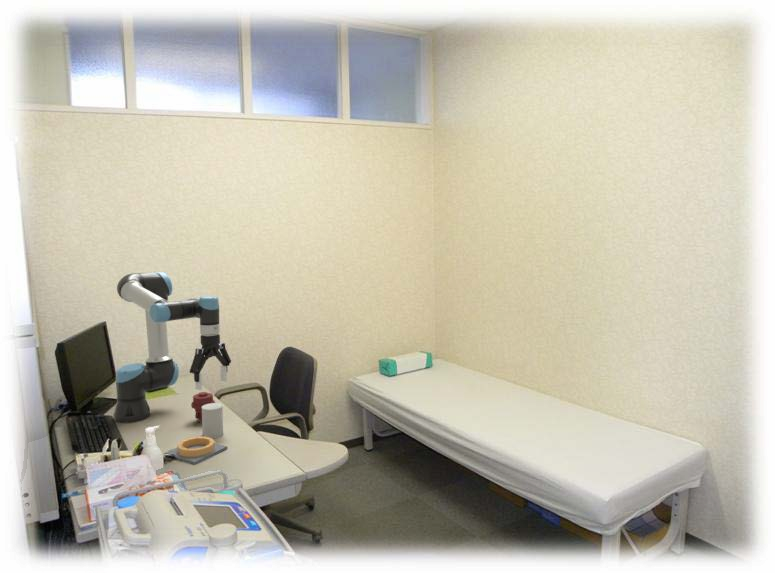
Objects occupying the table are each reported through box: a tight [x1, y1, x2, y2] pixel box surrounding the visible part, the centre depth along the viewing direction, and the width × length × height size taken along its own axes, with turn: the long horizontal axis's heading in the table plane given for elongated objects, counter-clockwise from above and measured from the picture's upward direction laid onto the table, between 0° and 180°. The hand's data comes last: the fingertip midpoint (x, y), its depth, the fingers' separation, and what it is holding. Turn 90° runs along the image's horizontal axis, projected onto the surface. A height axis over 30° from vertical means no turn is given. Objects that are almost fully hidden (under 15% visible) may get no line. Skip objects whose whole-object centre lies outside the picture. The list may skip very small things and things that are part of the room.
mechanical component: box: [190, 391, 216, 423], centre depth 242 cm, size 12×10×10 cm
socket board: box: [164, 436, 228, 465], centre depth 208 cm, size 16×16×4 cm
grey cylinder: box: [201, 402, 224, 439], centre depth 226 cm, size 8×8×12 cm
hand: (211, 385), depth 224 cm, fingers open, 13 cm apart
